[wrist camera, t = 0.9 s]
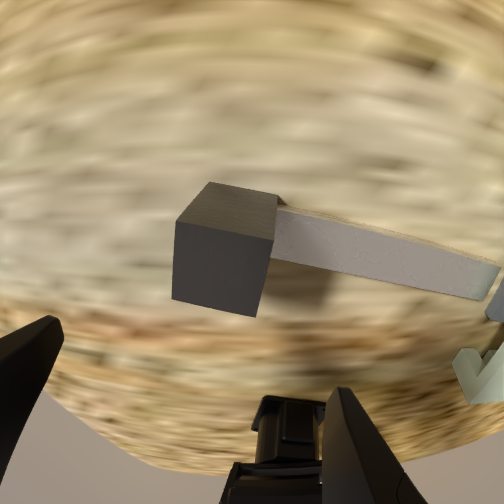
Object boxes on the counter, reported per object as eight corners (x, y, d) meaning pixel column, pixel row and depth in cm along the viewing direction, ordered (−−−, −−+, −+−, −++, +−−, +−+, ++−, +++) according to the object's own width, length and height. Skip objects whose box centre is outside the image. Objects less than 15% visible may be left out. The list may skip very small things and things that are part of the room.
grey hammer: (475, 299, 19) (508, 350, 14) (201, 242, 19) (171, 298, 14) (497, 254, 17) (540, 301, 12) (209, 181, 18) (175, 220, 12)
